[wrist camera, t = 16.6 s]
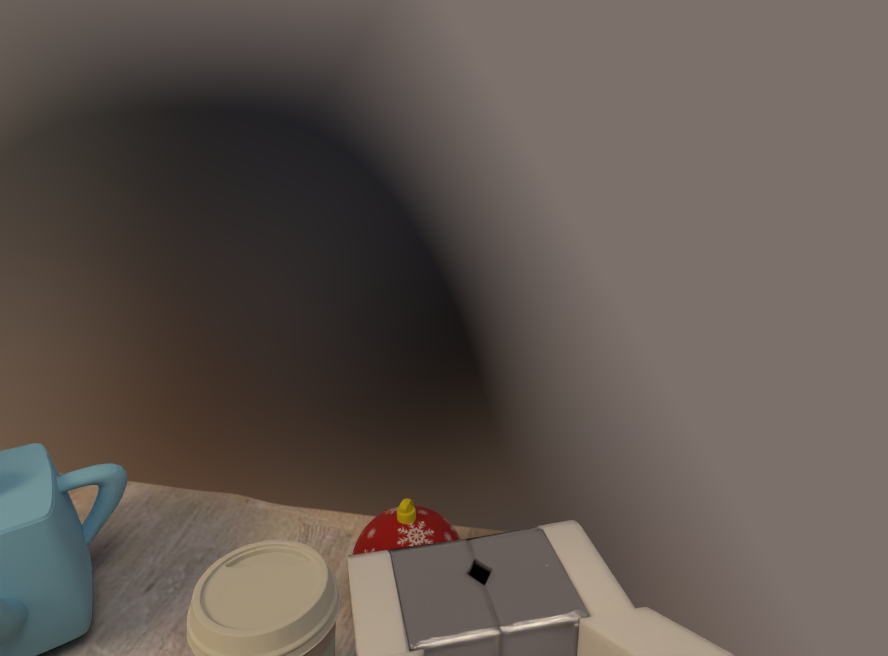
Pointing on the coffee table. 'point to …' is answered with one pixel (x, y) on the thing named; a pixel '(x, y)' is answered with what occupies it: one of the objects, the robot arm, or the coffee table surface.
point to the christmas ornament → (404, 529)
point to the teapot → (47, 549)
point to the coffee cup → (265, 603)
